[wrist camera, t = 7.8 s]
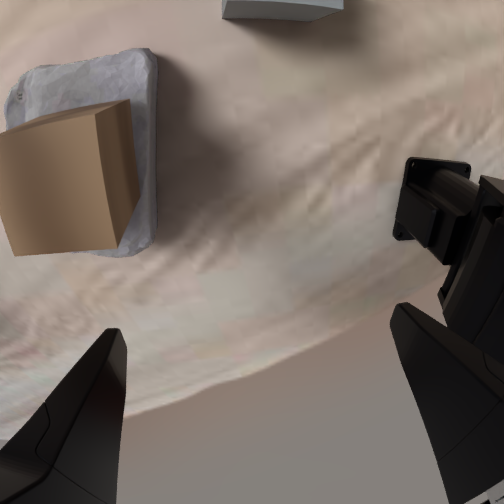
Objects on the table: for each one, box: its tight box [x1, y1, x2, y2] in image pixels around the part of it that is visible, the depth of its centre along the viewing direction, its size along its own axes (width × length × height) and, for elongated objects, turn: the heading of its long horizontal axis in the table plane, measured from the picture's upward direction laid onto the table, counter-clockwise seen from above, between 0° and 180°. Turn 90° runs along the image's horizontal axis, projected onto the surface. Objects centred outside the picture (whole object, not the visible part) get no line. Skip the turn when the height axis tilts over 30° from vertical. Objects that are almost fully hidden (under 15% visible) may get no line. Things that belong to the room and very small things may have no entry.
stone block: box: [4, 48, 158, 257], centre depth 16 cm, size 12×5×10 cm
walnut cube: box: [0, 99, 141, 256], centre depth 12 cm, size 5×5×5 cm
